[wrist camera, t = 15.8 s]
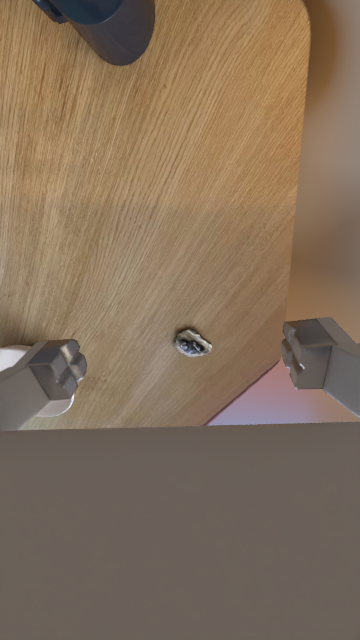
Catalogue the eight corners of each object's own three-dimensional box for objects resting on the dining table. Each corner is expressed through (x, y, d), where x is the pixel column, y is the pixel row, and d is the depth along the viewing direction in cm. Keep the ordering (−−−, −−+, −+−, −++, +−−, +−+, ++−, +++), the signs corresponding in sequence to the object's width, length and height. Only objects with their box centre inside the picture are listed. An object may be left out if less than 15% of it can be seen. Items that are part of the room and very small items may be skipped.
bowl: (37, 314, 47) (16, 332, 42) (103, 378, 55) (92, 401, 50) (-20, 351, 54) (-45, 371, 48) (46, 404, 62) (32, 426, 56)
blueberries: (181, 323, 46) (180, 329, 44) (219, 337, 47) (219, 343, 45) (169, 349, 49) (168, 355, 48) (205, 361, 50) (205, 367, 49)
